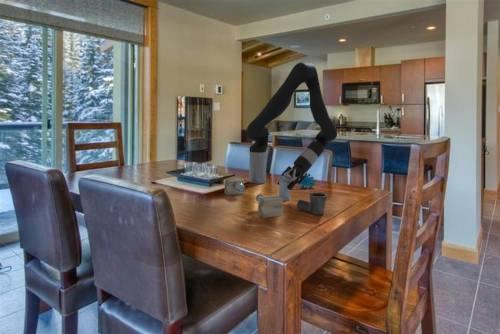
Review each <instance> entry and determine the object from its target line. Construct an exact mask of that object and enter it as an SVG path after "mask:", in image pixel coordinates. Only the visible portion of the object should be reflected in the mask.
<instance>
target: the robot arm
mask: <svg viewBox="0 0 500 334" xmlns="http://www.w3.org/2000/svg"><path fill="white" fill-rule="evenodd" d="M302 84H305V85H306V87H307V90H308V95H309V108H310V109H309V110H310V113H311V115H312V117H313V120H314V122H315V124H316V125H319V128H320V130H319V132H318V133H317V134H316V136H315V137H314V138H313V140H312V141H311V143H309V145H308V146H307V147H306V148H305V149H304V150H303V151H302V152H301V153H300V154H299V156H298V157H296V159H295V160H294V161H293V166H292V167H291V166H287V167H286V169H285V170H284V171H282V173H281V175H280V177H290V178H291V179H292V180H291V181H290V184H289V185H288V186H287V188H288V189H289V190H290V191H291V190H292V189H293V188H294V187H295V186H296V185H298V183H299V185H301V184H300V183H301V182H302V181H303V180H304V178H305V177H306V176H307V175H308V173H307V172H308V171H309V170H310V169H311V168H312V167H313V165H314V164H315V163H316V162H317V160H318V159H319V158H320V157H321V155H322V154H323V153H324V151H325V148H326V147H327V146H328V144H329V143H331V142H332V141H334V140H336V139H337V136H338V130H337V128H336V125H335V124H334V121H333V120H332V119H331V118H330V115H329V112H328V110H327V107H326V104H325V102H324V98H323V93H322V89H321V86H320V84H321V83H320V80H319V76H318V70H317V68H316V66H315V64H313V63H311V62H303V61H301V62H298V63H296V64H295V65H294V66H293V67H292V69H291V71H289V74H287V77H286V78H285V80H284V81H283V83H282V84H281V86H280V87H278V89H277V90H276V92H274V94H273V95H272V97H271V98H270V100H269V101H268V102H267V103H266V105H265V107H263V109H262V110H261V111H260V112H259V113H258V115H257V116H256V117H255V118H254V119H253V120H252V121H251V122H250V123H249V124H248V125H247V127H246V136H247V138H249V140H252V141H253V140H254V143H253V144H251V145H250V146H249V166H248V167H249V168H248V169H249V172H248V173H249V177H248V178H249V179H248V180H249V181H248V182H249V183H250V184H254V185H255V184H260V185H261V184H265V183H267V180H266V179H267V149H268V145H269V126H268V125H269V124H270V123H271V122H272V121H274V120H276V119H277V118H279V117H280V116H281V115H282V114H284V112H285V111H286V110H287V109H288V107H289V105H290V103H291V102H292V98H293V94H294V92H295V91H296V90H297V89H298V88H299V87H300V85H302ZM300 178H301V180H300ZM299 180H300V181H299ZM277 185H278V186H279V181H278V182H277Z"/></svg>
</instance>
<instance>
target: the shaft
mask: <svg viewBox="0 0 500 334" xmlns="http://www.w3.org/2000/svg"><path fill="white" fill-rule="evenodd" d="M263 196H265V195H264V194H262V193H258V194H257V195H256V196H255V201H256V202H257V203H258V197H263Z"/></svg>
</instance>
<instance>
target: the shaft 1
mask: <svg viewBox="0 0 500 334" xmlns="http://www.w3.org/2000/svg"><path fill="white" fill-rule="evenodd" d="M233 188H234V189H235V190H237V191H239V192H244V193H245V190H246V186H245V184H244V185H242V184H240V183H238V182H234V183H233Z"/></svg>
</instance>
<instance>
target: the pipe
mask: <svg viewBox="0 0 500 334" xmlns="http://www.w3.org/2000/svg"><path fill="white" fill-rule="evenodd" d="M327 198H328V194H326V193H324V192H311V193H309V201H308V200H304V199H299V200H298V201H297V204H296V208H297V210H301V211H304V212H305V211H306V212H308V213H311V214H312V215H316V216H320V215H321V216H322V215H324V214H325V207H326V201H327Z"/></svg>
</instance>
